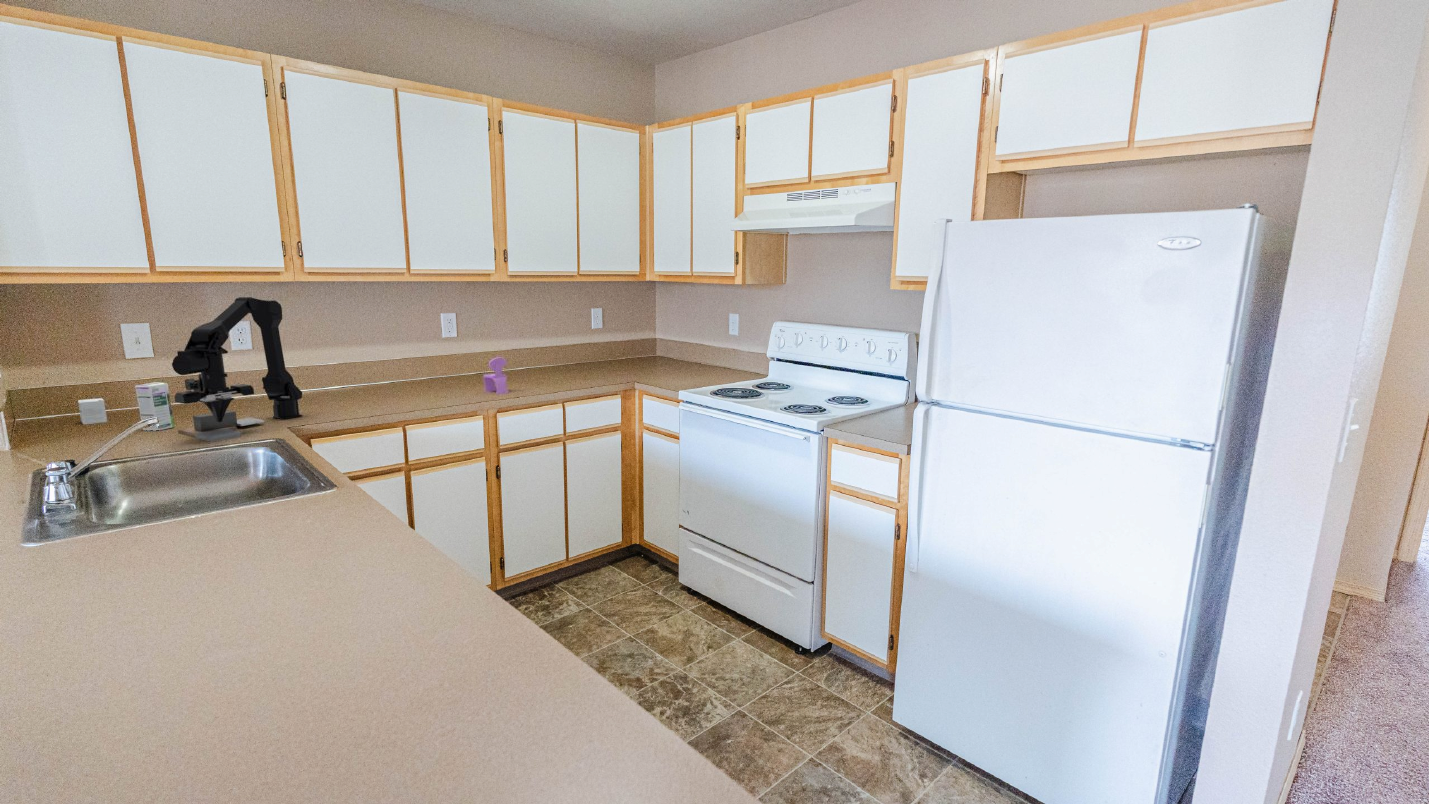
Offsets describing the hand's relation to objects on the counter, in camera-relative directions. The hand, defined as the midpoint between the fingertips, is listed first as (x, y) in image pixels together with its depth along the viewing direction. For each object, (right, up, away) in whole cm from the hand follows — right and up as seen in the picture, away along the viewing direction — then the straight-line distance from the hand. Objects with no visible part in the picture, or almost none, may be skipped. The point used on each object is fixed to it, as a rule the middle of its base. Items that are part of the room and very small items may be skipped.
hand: (219, 421), depth 201 cm
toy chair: (+58, +10, +79) cm, 98 cm away
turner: (-5, -1, +11) cm, 12 cm away
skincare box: (-56, -1, +20) cm, 59 cm away
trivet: (-9, -3, +7) cm, 12 cm away
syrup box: (-27, -3, +10) cm, 29 cm away
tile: (+2, -3, +4) cm, 5 cm away
